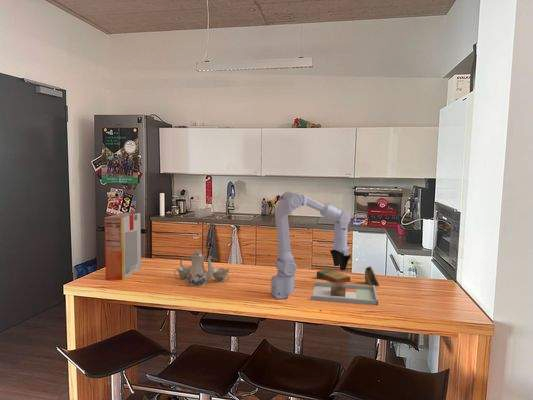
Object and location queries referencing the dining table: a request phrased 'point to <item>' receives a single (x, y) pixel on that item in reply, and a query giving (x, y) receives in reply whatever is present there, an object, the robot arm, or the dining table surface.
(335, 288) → the walnut block
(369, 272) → the rock
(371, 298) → the trap tray
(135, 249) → the pasta box
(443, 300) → the dining table surface
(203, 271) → the chinaware
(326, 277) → the carton
